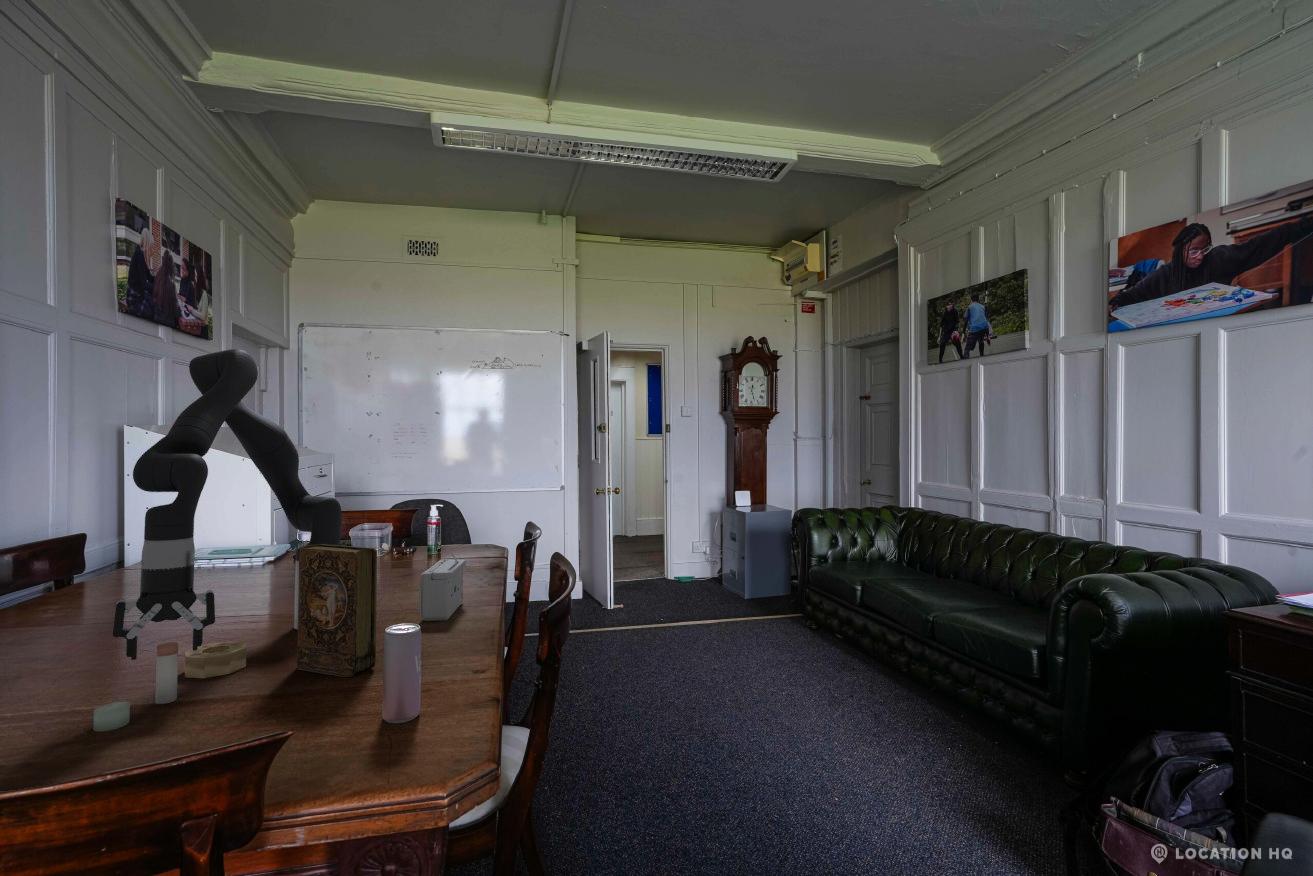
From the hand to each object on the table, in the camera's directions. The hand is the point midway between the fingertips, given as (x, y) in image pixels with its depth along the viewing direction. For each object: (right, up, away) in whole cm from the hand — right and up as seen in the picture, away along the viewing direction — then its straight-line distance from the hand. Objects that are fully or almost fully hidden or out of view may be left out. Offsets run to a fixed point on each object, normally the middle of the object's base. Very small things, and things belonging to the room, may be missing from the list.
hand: (165, 654), depth 109 cm
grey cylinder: (0, -8, 0) cm, 8 cm away
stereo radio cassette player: (+29, -10, +61) cm, 68 cm away
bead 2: (-2, -9, +16) cm, 18 cm away
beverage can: (+45, -9, -6) cm, 46 cm away
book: (+22, -9, +16) cm, 29 cm away
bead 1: (-1, -8, -10) cm, 13 cm away
